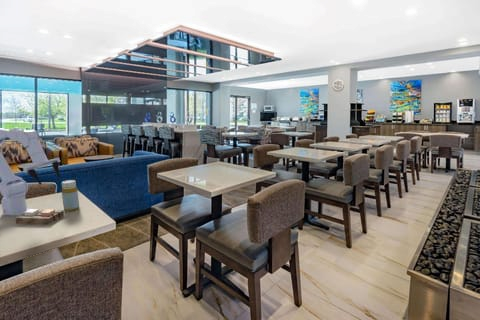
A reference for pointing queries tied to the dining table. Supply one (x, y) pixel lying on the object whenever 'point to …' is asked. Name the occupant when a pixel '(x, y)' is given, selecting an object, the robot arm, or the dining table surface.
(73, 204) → the bottle
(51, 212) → the terracotta key
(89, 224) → the dining table surface
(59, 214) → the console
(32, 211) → the cream key
